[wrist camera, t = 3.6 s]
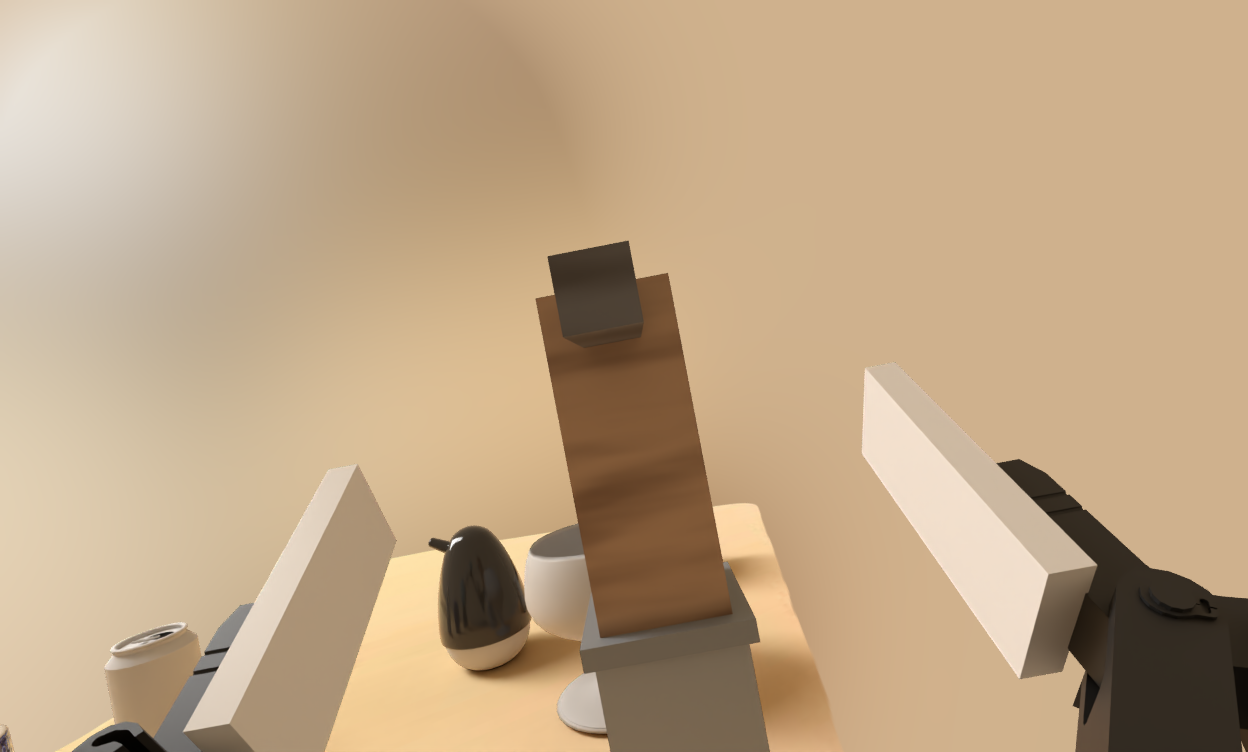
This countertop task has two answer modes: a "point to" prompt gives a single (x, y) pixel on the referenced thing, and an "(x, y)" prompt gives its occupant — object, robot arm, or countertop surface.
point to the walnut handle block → (631, 443)
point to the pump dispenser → (480, 600)
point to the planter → (5, 739)
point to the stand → (680, 683)
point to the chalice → (564, 616)
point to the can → (150, 674)
